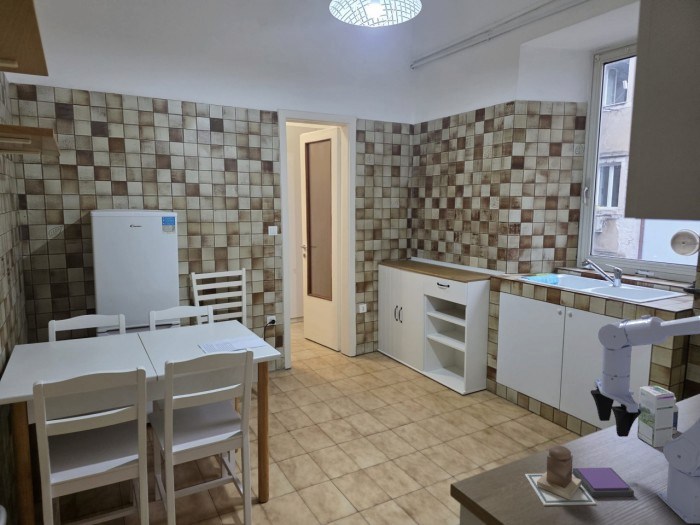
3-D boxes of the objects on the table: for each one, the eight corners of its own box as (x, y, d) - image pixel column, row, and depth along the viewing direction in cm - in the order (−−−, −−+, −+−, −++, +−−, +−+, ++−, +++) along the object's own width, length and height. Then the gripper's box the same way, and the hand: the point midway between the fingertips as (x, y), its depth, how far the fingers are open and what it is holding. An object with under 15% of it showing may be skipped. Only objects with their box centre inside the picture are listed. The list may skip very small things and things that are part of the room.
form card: (596, 504, 97) (596, 502, 97) (544, 505, 97) (544, 503, 97) (571, 474, 108) (571, 472, 108) (524, 475, 108) (524, 473, 108)
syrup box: (672, 445, 119) (676, 392, 117) (652, 448, 118) (656, 394, 116) (654, 435, 125) (658, 384, 123) (635, 437, 124) (638, 386, 122)
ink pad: (633, 496, 99) (634, 489, 99) (592, 497, 99) (592, 490, 99) (610, 472, 108) (610, 466, 108) (572, 473, 108) (572, 466, 108)
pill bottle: (681, 434, 124) (683, 400, 123) (661, 435, 125) (663, 401, 123) (668, 425, 130) (670, 392, 129) (649, 425, 130) (651, 393, 129)
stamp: (581, 486, 102) (582, 450, 101) (569, 501, 98) (570, 463, 96) (549, 473, 107) (550, 439, 106) (536, 487, 103) (537, 451, 101)
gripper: (653, 384, 99) (649, 443, 101) (615, 361, 114) (612, 413, 115) (620, 385, 99) (617, 443, 101) (586, 362, 114) (584, 414, 115)
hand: (613, 427), depth 108 cm, fingers open, 7 cm apart
